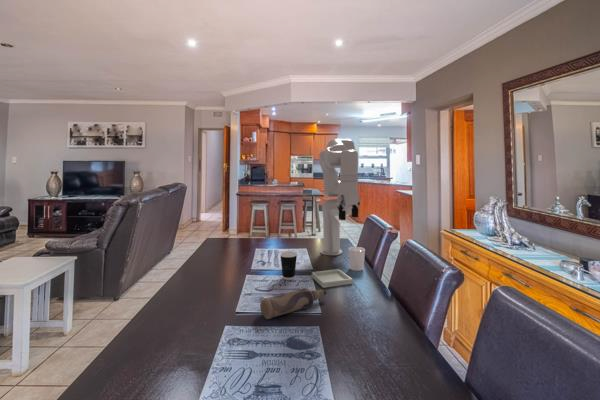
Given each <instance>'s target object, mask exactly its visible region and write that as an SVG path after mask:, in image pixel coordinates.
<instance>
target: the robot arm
mask: <svg viewBox="0 0 600 400" xmlns="http://www.w3.org/2000/svg"><path fill="white" fill-rule="evenodd" d="M355 148H356V147H355V143H354V141H353V140H352V139H350V138H334V139H331V140H329V141H328V142H327V144H326V149H324V150H321V151H320V152H319V155H318V156H319V157H318V161H319V166H320V168H321V170H322V177H323V179H322V181H323V193H324V196H325V197H327V198H330V199H326V200H324V201H322V203H321V212H322V219H323V225H322V226H323V230H322V231H323V235H322V237H323V238H322V239H323V241H322V242H323V243H322V244H323V245H322V246H323V248H322V249H321V250H320V253H321V254H322V255H324V256H339V255H342V254H343V250H342V249H341V247H340V244H341V243H340V241H341V240H340V239H341V238H340V236H341V235H340V233H341V230H340V229H341V226H340V225H341V223H340V221H345V220H346V216H350V215H351V218H359V208H360V203H361V197H360V196H359V195H360V194H359V184H358V183H359V175H358V174H359V153H358V151H357V150H355ZM337 169H340V170H339V173H338V171H337ZM331 198H333V199H331ZM334 198H335V199H334ZM336 198H337V199H336ZM337 217H338V219H337ZM339 220H340V221H339Z"/></svg>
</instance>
